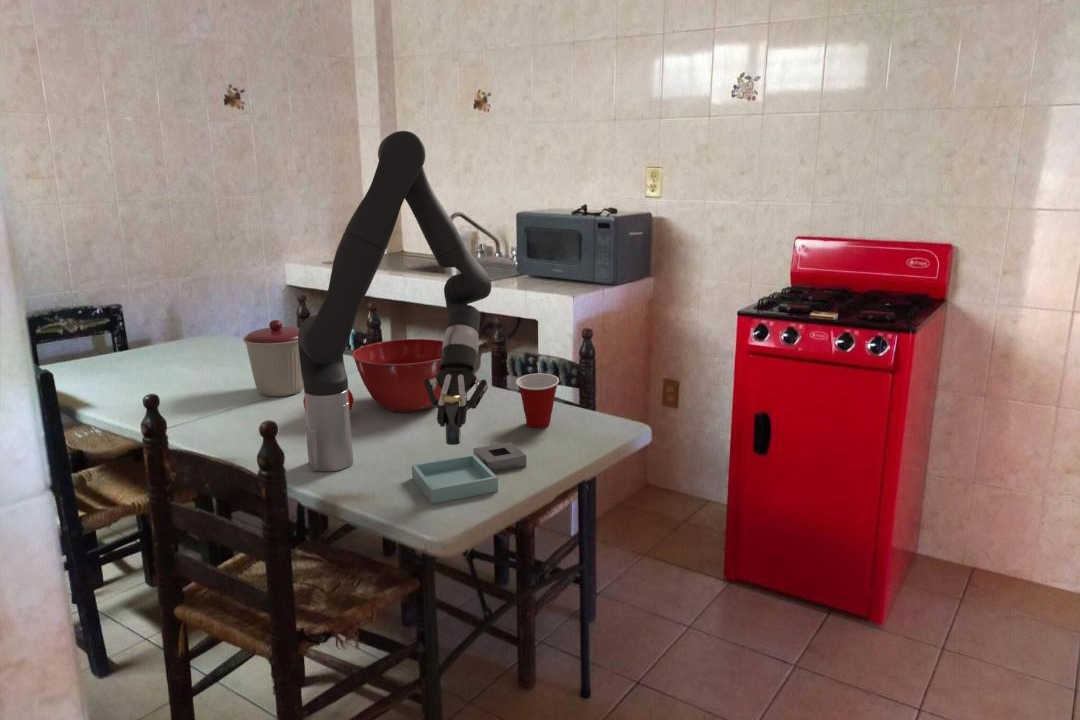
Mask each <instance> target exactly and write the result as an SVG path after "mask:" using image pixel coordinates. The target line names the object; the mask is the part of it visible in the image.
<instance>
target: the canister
mask: <svg viewBox="0 0 1080 720" xmlns="http://www.w3.org/2000/svg"><path fill="white" fill-rule="evenodd" d="M299 328H300V327H295V326H283V323H282V321H281V320H279V319H274V320H271V321H269V323H268V327H264V328H263V327H262V328H259V329H255V330H253V331H251V332H248V334H247V335H245V336H244V337H243V338H242V341H243V342H244V343H245V346H246V349H247V355H248V360H249V364H250V368H251V372H252V375H253V380H254V381H253V382H254V384H255V387H256V389H257V391H258V393H260V395H263V396H266V397H286V396H292V395H296V394H298V393H300V392H302V391H304V385H303V379H302V375H301V366H300V357H299V346H298V332H299Z"/></svg>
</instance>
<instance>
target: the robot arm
mask: <svg viewBox="0 0 1080 720" xmlns="http://www.w3.org/2000/svg"><path fill="white" fill-rule="evenodd" d="M426 157H427V155H426V148H425V145H424V143H423V141H422V139H421V138H420V137H419V136H418V135H417V134H415V133H414V132H411V131H407V130H398V131H393V133H391V134H389V135H388V136H386V137H385V138H383V140H382V141H381V142H380V145H379V147H378V149H377V158H378V162H377V166H376V168H375V172H374V176H373V178H372V180H371V183H370V186H369V188H368V190H367V192H366V193H365V196H364V197H363V199H362V200H361V201H360V203H359V205H358V206H357V207H356V209H355V210H354V212H353V214H352V216H351V217H350V220H349V221H348V223H347V225H346V227H345V229H344V232H343V234H342V237H341V238H340V242H339V243H338V245H337V248H336V251H335V255H334V258H333V262H332V266H331V273H330V278H329V283H328V289H327V292H326V295H325V297H324V300H323V302H322V304H321V306H320V308H319V310H318V312H317V313H316V314H313V315H310V316H309V317H306V318H305V319H304V321H303V322H302V323H301V324H300V326H299V327H298V328H299V332H298V346H299V357H300V366H301V375H302V379H303V385H304V388H303V394H304V396H305V407H306V410H305V417H306V421H305V433H306V436H305V437H306V446H307V458H308V464H309V466H310V469H311V470H312V472H334V471H341V470H343V469H344V470H345V469H346V468H348V467H350V466H352V465H353V463H354V451H353V439H352V438H353V437H352V425H351V423H352V421H351V410H350V407H349V392H348V389H349V380H348V374H347V372H346V367H345V362H344V353H345V351H347V348H348V344H349V341H350V338H351V335H352V332H353V328H354V324H355V321H356V318H357V315H358V313H359V309H360V307H361V304H362V302H363V301H364V298H365V297H366V294H367V292H368V291H369V289H370V286H371V284H372V282H373V280H374V277H375V275H376V273H377V271H378V269H379V267H380V265H381V262H382V260H383V259H384V258H383V257H384V256H385V254H386V251H387V248H388V246H389V243H390V240H391V238H392V235H393V232H394V230H395V227H396V223H397V221H398V218H399V214H400V210H401V209H402V206H403V203H404V201H406V203H407V205H408V206H409V209H410V210H411V212H412V214H413V216H414V218H415V220H416V222H417V224H418V226H419V228H420V231H421V233H422V234H423V237H424V239H425V241H426V243H427V245H428V247H429V250H430V251H431V253H432V254H433V256H434V259H435V261H436V262H437V264H438V266H440V267H441V268H444V269H447V268H452V269H453V268H454V269H457V270H458V272H460V273H457V274H454V275H452V276H450V277H448V279H447V280H446V282H445V284H444V288H443V294H444V300H445V305H446V306H445V307H446V311H447V312H446V313H447V320H446V329H445V334H444V337H443V339H442V341H443V347H442V354H441V362H440V369H439V372H438V374H437V375H436V378H433V379H431V380H429V379H424V385H425V387H426V390H427V393H428V396H429V399H430V402H431V404H432V406H431V407H432V408H434V409H436V408H437V416H436V420H437V424H438V425H439V426H440V428H445V407H444V402H443V395H444V394H448V393H457V394H460V397H461V401H460V402H459V409H458V417H457V425H458V427H460V428H462V427H463V425H465V424H466V421H467V414H468V413H467V412H468V410H470V409H473V410H475V409H477V407H478V405H479V403H480V402H481V400H482V398H483V397H484V395H485V394H486V392H487V390H488V388H489V386H488V383H487V380H486V379H482V380H481V379H479V378H477V375H476V370H477V361H478V355H479V332H480V323H481V314H480V311H479V310H478V309H477V307H475V306H473V305H471V304H472V303H475V302H479V301H481V300H484V299H487V297H488V296H490V294H491V293H492V282H491V278H490V276H489V274H488V273H487V270H485V268H483V266H482V265H481V264H480V263H479V262H478V261H477V260H476V258H475V257H474V256H473V254H472V253H471V252H470V251H469V250H468V249H467V247H466V245H465V243H464V241H463V239H462V237H461V236H460V233H459V231H458V229H457V227H456V225H455V223H454V222H453V219H451V217H450V215H449V214H448V212H447V211H446V209H445V208H444V206H443V205H442V203H441V202H440V200H439V198H438V196H436V194H435V192H434V190H433V188H432V186H431V184H430V182H429V180H428V177H427V175H426V171H425V168H424V165H425V161H426ZM437 383H438V384H439V386H440V387H441V389H442V391H441V396H440V399H439V400H437V399H436V397H435V394H434V391H433V390H435V388H436V384H437ZM474 386H475V390H474V392H473V393H472V395H471V396H470V398H469V399H468V393H469V391H470V390H471V389H472V388H473V387H474Z"/></svg>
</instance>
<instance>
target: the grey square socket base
mask: <svg viewBox="0 0 1080 720" xmlns="http://www.w3.org/2000/svg"><path fill="white" fill-rule="evenodd" d="M473 454H474V455H475V456H476V457H477V458H478V459H479V460H480V461H481V462H482V463H483V464H485V465H486V466H487V467H488V468H489V469H490V470H491V471H492V472H493V473H497V472H502V471H508V470H513V469H518V468H524V467H527V454H525V453H524V452H523V451H521V450H520V449H519V448H518V447H517V446H516V445H515V444H513V443H512V442H509V441H508V442H504V443H498V444H497V443H496V444H492V445H486V446H480V447H474V448H473Z"/></svg>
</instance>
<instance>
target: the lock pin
mask: <svg viewBox="0 0 1080 720" xmlns="http://www.w3.org/2000/svg"><path fill="white" fill-rule="evenodd" d="M460 401H461V397H460V394H457V393H448V394H444V395H443V402H444V407H445V427H444V428H445V443H446V444H447V445H450V446H454V445H455V446H456V445H460V444H461V443H462V438H461V437H462V436H461V434H462V433H461V432H462V431H461V427H458V425H457V417H458V409H459V407H460Z"/></svg>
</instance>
